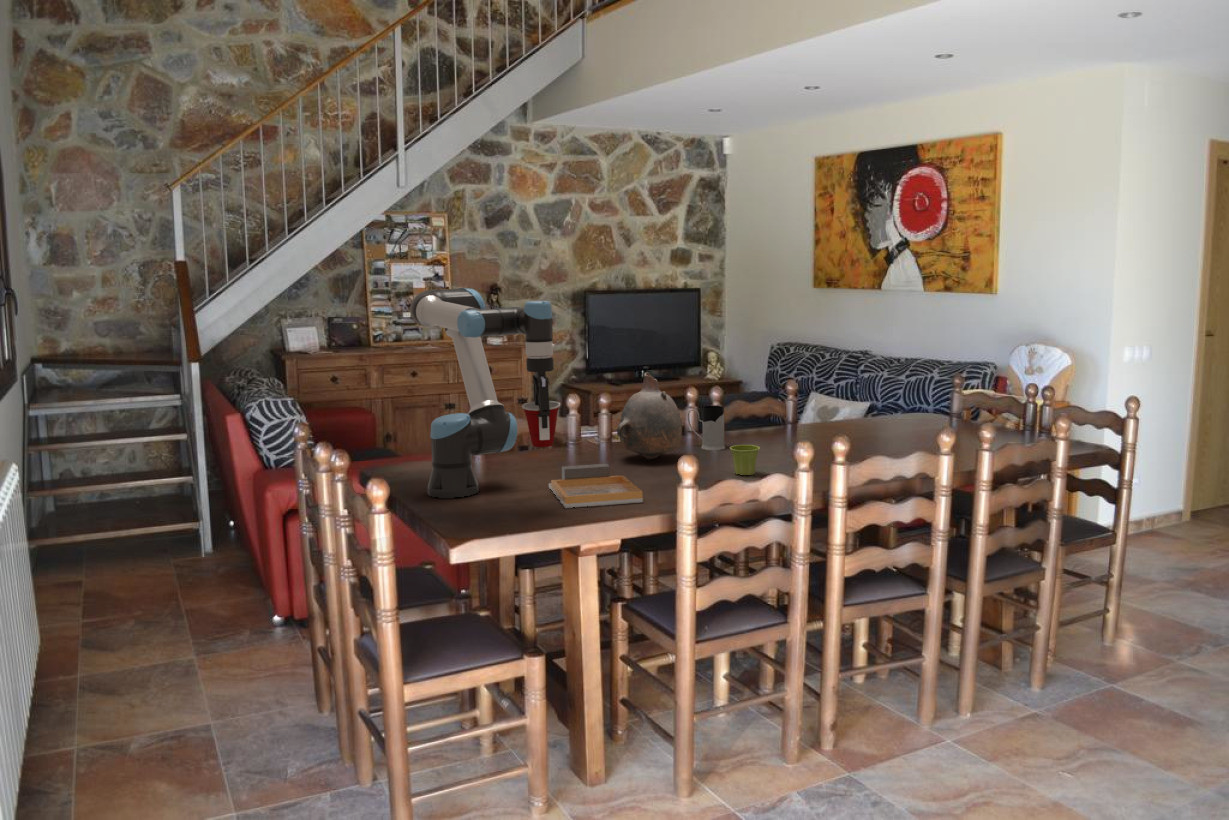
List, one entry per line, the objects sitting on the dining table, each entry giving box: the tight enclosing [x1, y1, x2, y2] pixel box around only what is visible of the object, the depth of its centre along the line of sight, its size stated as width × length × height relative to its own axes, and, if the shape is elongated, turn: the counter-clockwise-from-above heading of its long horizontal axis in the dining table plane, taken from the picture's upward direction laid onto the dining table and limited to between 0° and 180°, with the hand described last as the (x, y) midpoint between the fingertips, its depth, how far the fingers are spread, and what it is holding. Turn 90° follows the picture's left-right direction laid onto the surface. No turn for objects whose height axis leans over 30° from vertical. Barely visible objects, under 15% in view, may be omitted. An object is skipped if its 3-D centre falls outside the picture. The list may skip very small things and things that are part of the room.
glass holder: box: [687, 405, 726, 451], centre depth 366 cm, size 9×14×15 cm, turn 65°
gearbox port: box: [548, 463, 644, 509], centre depth 297 cm, size 22×27×6 cm
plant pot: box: [729, 444, 761, 476], centre depth 321 cm, size 9×9×9 cm
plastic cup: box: [521, 400, 561, 448], centre depth 282 cm, size 11×11×12 cm
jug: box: [616, 372, 683, 460], centre depth 345 cm, size 24×21×30 cm
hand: (542, 436), depth 282 cm, fingers closed on plastic cup, 9 cm apart
